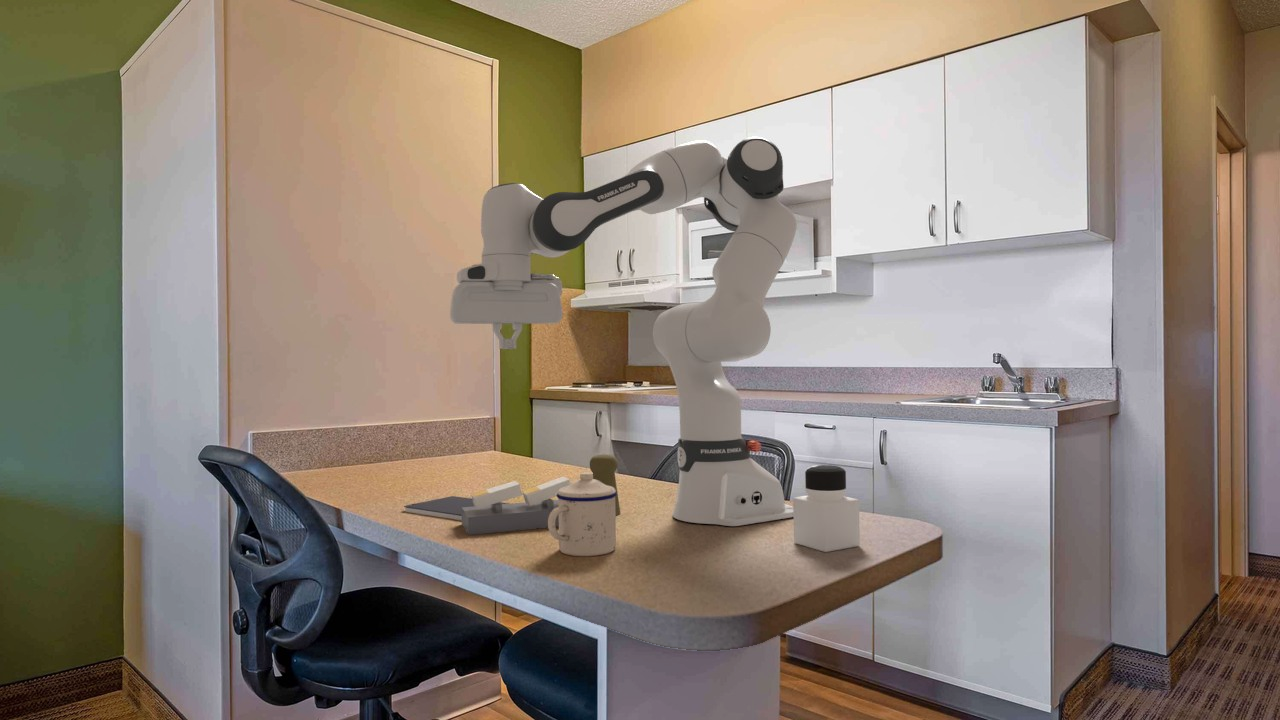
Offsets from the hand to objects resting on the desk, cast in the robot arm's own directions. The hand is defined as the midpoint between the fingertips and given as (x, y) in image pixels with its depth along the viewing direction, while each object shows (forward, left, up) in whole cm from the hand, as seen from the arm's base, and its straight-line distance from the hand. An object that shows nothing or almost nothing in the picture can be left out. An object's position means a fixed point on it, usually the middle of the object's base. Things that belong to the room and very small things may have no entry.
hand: (507, 348), depth 142 cm
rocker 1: (+3, +6, -26) cm, 26 cm away
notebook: (+7, -11, -32) cm, 34 cm away
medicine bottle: (-41, +40, -31) cm, 65 cm away
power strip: (-4, +6, -31) cm, 32 cm away
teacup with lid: (-5, +29, -31) cm, 43 cm away
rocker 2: (-6, +6, -26) cm, 28 cm away
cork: (-17, +3, -31) cm, 36 cm away
